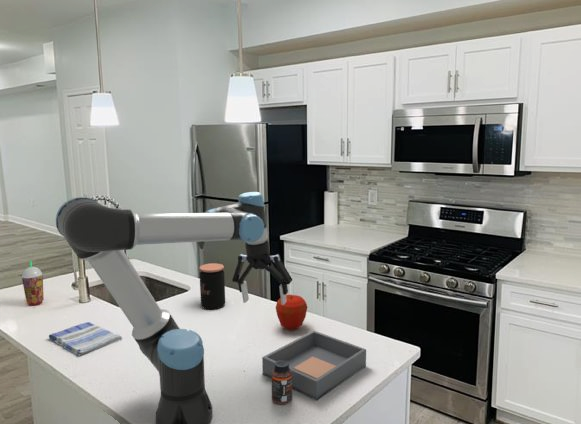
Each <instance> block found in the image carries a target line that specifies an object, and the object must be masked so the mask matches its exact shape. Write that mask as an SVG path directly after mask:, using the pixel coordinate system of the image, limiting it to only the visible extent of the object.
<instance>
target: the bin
mask: <svg viewBox="0 0 581 424" xmlns="http://www.w3.org/2000/svg"><path fill="white" fill-rule="evenodd" d="M261 360H262V376H264V377H267V378H269V379H270V380H272V370H273V369H274V368H275V362H277V361H279V360H284V361H287V362H288V363H289V368H290V369H291V371H292V390H293V389H294V391H296V392H297V393H299V394H302V395H304V396H306V397H308V398H310V399H312V400H314V401H318V400H320V399H321V398H322V397H324V396H325V395H327V394H329V393H330V392H331V391H333V390H334V389H335V388H337V387H338V386H340V385H341V384H343V383H344V382H346V381H347V380H348V379H350V378H352V377H353V376H354V375H356V374H357V373H359V372H360V371H361V370H362V369H364V368H365V367H366V366H367V349H366V348H363V347H360V346H358V345H355V344H352V343H350V342H347V341H344V340H341V339H338V338H336V337H333V336H330V335H327V334H324V333H321V332H320V331H316V330H312V331H310V332H308V333H306V334H304V335H302V336H301V337H299V338H296V339H295V340H293V341H290V342H289V343H287V344H285V345H284V346H281V347H279V348H278V349H276V350H273V351H272V352H270V353H268V354H265V355H263V356H262V359H261Z"/></svg>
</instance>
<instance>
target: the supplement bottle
mask: <svg viewBox="0 0 581 424" xmlns="http://www.w3.org/2000/svg"><path fill="white" fill-rule="evenodd" d="M271 400H272V402H274V403H275V404H278V405H286V404H289V403H290V402H291V401H293V389H292V371H291V369H290V368H289V363H288V362H287V361H284V360H279V361H277V362H275V368H274V369H273V370H272V379H271Z"/></svg>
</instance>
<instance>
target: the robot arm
mask: <svg viewBox="0 0 581 424" xmlns="http://www.w3.org/2000/svg"><path fill="white" fill-rule="evenodd" d="M265 207H266V206H265V203H264V197H263V195H262V193H261V192H258V191H248V192H244V193H241V194H239V195H238V201H237V202H236V203H232V204H231V203H230V204H227V205H222V206H219V207H213V208H211V209H208V210H206V211H205V212H185V213H184V212H182V213H181V212H177V213H176V212H174V213H171V212H170V213H169V212H168V213H167V212H166V213H163V212H162V213H135V212H134V211H133V210H132V209H119V208H112V207H108V206H105V205H103V204H101V203H99V202H98V201H97V200H95V199H94V198H90V197H84V196H83V197H81V196H79V197H72V198H71V199H68V200H66V201H65V202H63V204H62V205H60V207H59V209H57V212H56V216H55V224H56V225H55V226H56V229H57V231H58V233H59V234H60V235H61V236H62V237H64V239H65V241H66V242H67V243H68V245H69V246H70V248H71V249H72V251H73V252H74V254H75V255H76V256H77V258H78V259H79V260H81V261H88V262H89V264H90V265H91V267H92V268H93V269H94V271H95V273H96V274H97V276H98V277H99V279H100V280H101V282H102V283H103V285H104V286H105V287H106V289H107V291H108V292H109V293H110V295H111V296H112V298H113V299H114V301H115V302H116V304H117V305H118V307H119V308H120V309H121V311H122V313H123V314H124V316H125V317H126V319H127V320H128V321H129V323H130V324H131V326H132V331H131V336H132V337H133V339H134V341H135V342H136V343H137V345H138V347H139V350H140V352H141V353H142V354H143V355H144V356H145V357H146V358H147V359H148V360H149V362H150V363H151V364H152V365H153V367H154V368H155V369H156V370H157V372H158V375H159V386H160V387H159V388H160V396H159V400H158V403H157V407H156V411H155V414H154V415H155V416H154V417H155V418H154V420H155V424H210V422H212V420H213V412H214V411H213V404H212V402H211V400H210V397H209V395H208V393H207V390H206V384H205V383H206V381H205V356H204V354H205V349H204V344H203V342H204V341H203V339H202V337H201V335H200V334H198V333H197V332H196V331H193V330H192V329H189V330H188V329H186V328H180V327H179V325H178V324H177V323H176V321H175V319H174V318H173V316H172V314H171V313H170V311H169V310H167V309H161V307H160V305H159V304H158V303H157V301H156V300H155V298H154V296H153V295H152V293H151V292H150V290H149V289H148V287H147V286H146V284H145V282H144V281H143V279H142V278H141V276H140V275H139V273H138V271H137V270H136V268H135V266H134V265H133V264H132V262H131V260H130V259H129V257H128V255H127V254H126V252H125V251H127V250H132V249H134V248H135V247H136V246H139V245H140V246H143V245H157V244H158V245H159V244H163V245H164V244H176V243H177V244H180V243H195V242H196V243H199V242H201V243H202V242H218V241H239V240H241V241H243V242H245V244H244V246H245V252H246V254H245V253H244V252H242V253H241V254H239V255H238V256H237V265H236V268H235V271H234V273H233V276H232V280H231V281H232V282H233V283H235V282H236V283H237V284H238V291H239V293H241V297H242V302H243V304H245V303H247V302H248V301H249V299H250V297H249V292H248V283H247V281H246V280H245V279H246V278H247V276H248V275H249V274H250V272H251V271H252V269H254V270H266V271H267V272H268V273H269V274H271V276H272V277H273V278H274V279H275V280H277V281H276V282H278V283H279V284H280V285H279V296H280V298H281V304H282V305H284V304H285V303H286V302H287V300H286V295H288V292H289V288H288V285H290V284H291V283H292V281H293V278H292V276H291V274H290V272H289V271H288V269H287V268H286V266H285V264H284V263H283V261H282V260H281V259H282V258H281V255H280V254H279V253H277V254H275V255H271V252H270V251H271V249H270V243H269V239H268V238H269V234H268V228H267V220H266V219H267V218H266V217H267V216H266V211H265V210H266V209H265ZM245 261H247V262H248V266H246V269H245V270H244V272H243V273H242V269H243V266H244V264H245ZM272 262H273V263H274V264H273V263H272ZM275 266H276V267H275ZM241 273H242V275H241Z"/></svg>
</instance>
